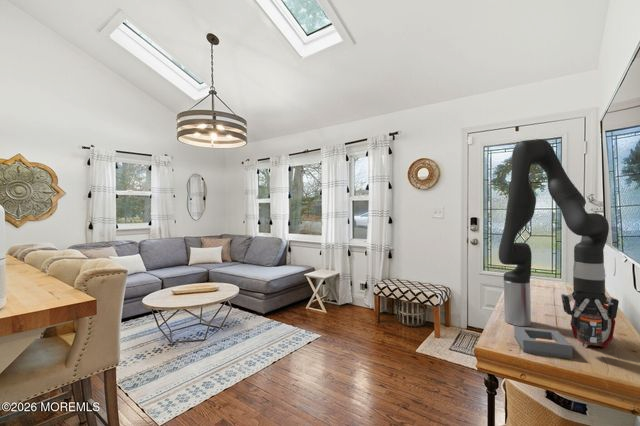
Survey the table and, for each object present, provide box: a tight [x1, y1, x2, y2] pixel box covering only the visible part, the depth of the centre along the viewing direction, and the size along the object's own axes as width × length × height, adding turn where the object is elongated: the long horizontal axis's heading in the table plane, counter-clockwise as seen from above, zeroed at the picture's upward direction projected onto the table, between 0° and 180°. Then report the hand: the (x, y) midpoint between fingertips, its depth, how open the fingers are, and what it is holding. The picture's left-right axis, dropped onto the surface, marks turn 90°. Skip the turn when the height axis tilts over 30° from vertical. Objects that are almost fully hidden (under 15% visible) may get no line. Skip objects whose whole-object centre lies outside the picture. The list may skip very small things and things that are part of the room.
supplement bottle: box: [576, 307, 602, 347], centre depth 95 cm, size 6×6×11 cm
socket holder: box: [513, 325, 574, 359], centre depth 102 cm, size 13×13×4 cm
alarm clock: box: [569, 300, 616, 349], centre depth 104 cm, size 15×9×20 cm, turn 114°
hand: (589, 328), depth 95 cm, fingers closed on supplement bottle, 6 cm apart
